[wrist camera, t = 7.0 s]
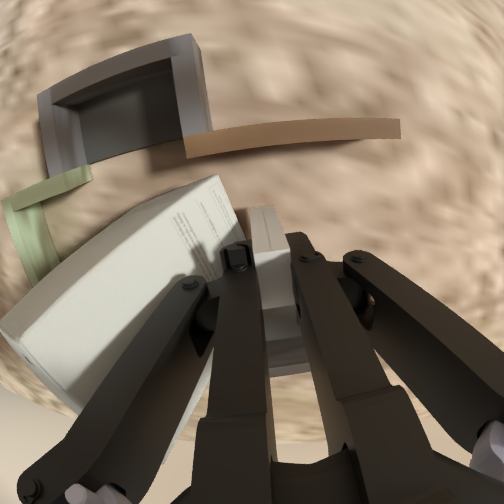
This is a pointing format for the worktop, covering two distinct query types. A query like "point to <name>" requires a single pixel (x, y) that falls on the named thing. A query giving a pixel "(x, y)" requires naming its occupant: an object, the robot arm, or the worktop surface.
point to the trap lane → (150, 133)
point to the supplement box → (120, 290)
